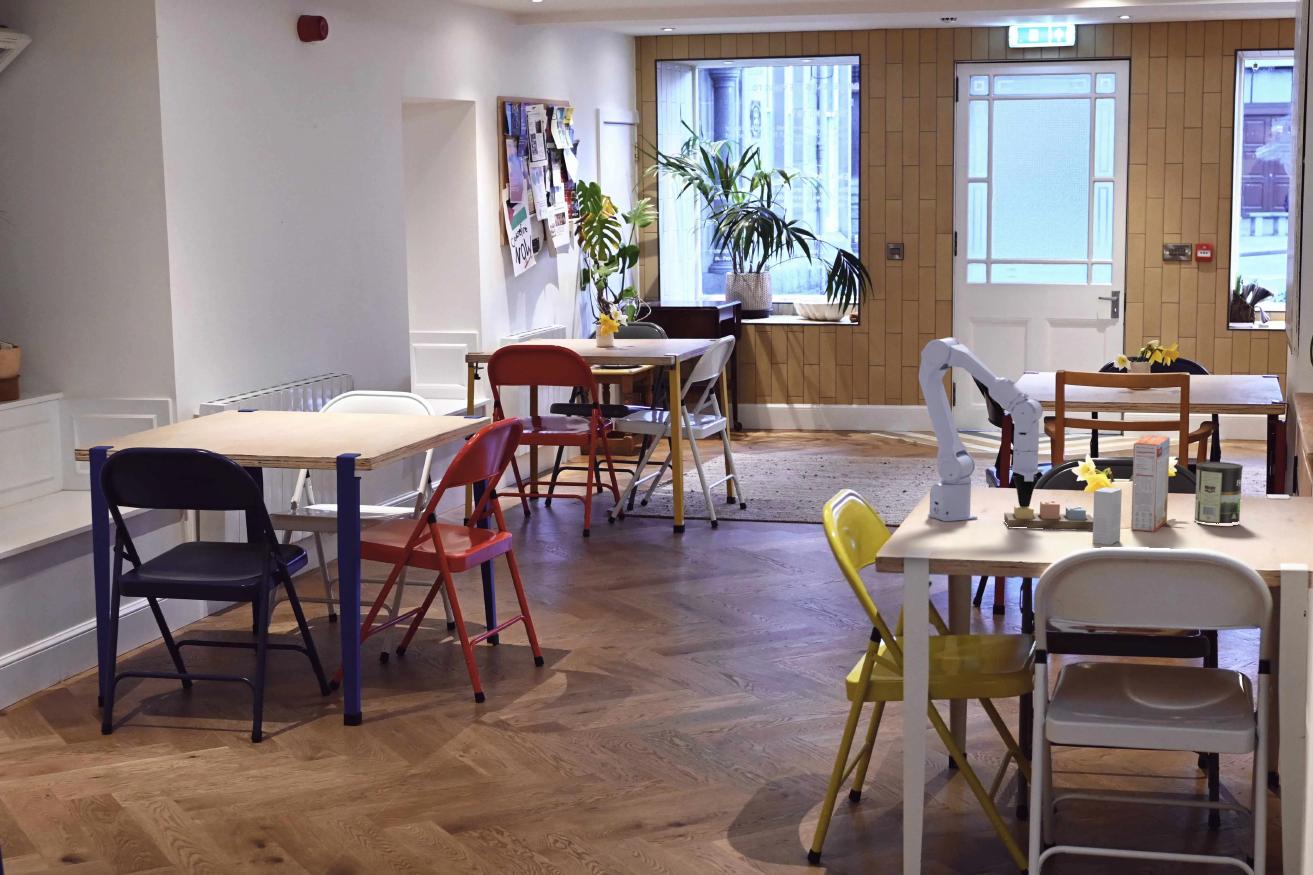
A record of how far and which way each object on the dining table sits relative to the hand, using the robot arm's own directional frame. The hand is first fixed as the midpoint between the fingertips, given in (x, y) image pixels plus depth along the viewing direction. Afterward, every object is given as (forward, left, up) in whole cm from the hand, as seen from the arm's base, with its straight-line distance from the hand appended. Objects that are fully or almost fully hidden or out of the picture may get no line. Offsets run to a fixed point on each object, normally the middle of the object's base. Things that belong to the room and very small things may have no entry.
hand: (1024, 506), depth 332 cm
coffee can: (+44, -16, -5) cm, 47 cm away
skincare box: (+5, -23, -5) cm, 24 cm away
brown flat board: (+5, -3, -4) cm, 8 cm away
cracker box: (+26, -13, -5) cm, 30 cm away
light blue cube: (+10, -6, -4) cm, 13 cm away
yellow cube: (0, 0, -4) cm, 4 cm away
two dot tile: (+5, -3, -3) cm, 7 cm away
